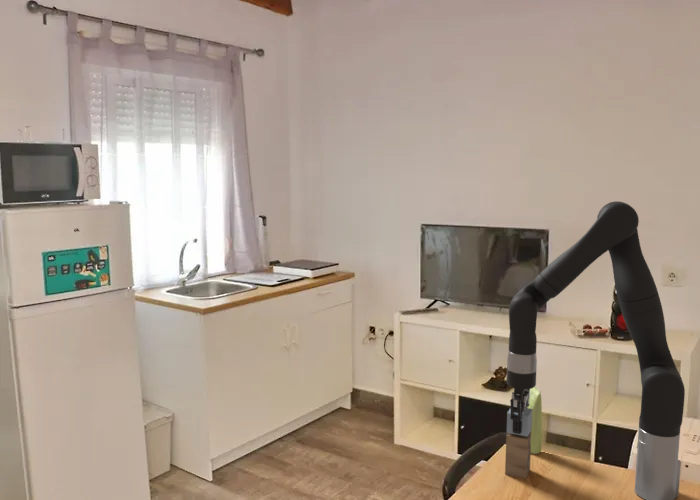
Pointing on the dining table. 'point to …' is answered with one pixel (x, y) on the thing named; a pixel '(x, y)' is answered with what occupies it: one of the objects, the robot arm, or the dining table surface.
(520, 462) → the tower lower
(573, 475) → the dining table surface
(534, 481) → the dining table surface
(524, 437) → the tower upper
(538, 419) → the tube
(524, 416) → the slate block
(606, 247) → the robot arm
